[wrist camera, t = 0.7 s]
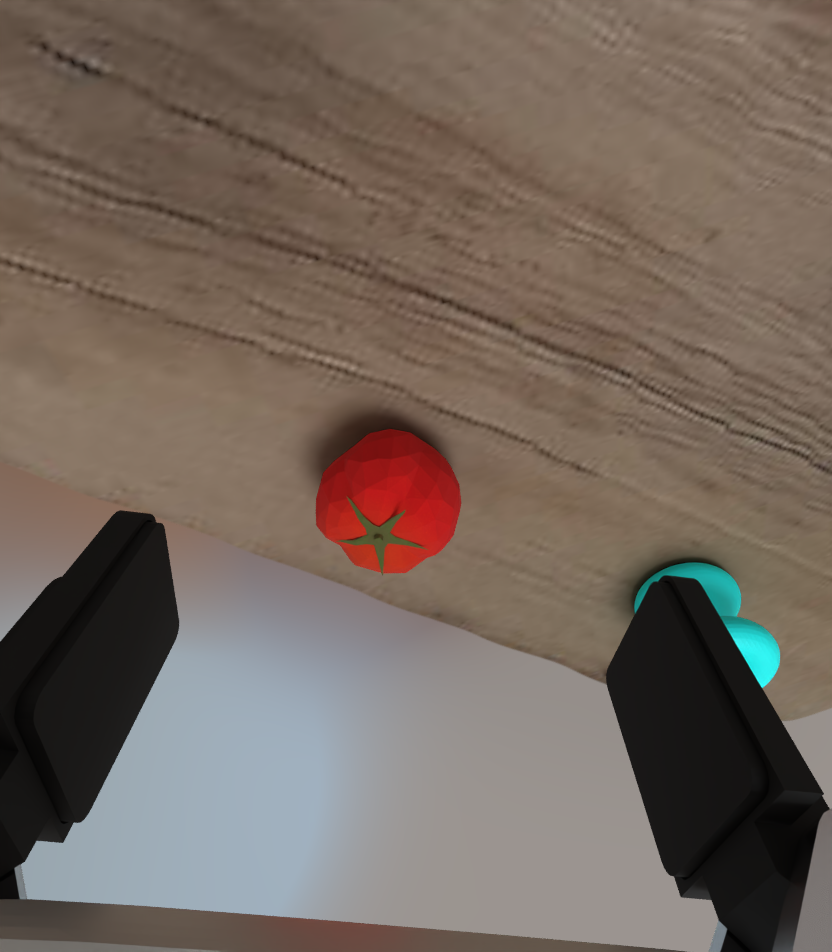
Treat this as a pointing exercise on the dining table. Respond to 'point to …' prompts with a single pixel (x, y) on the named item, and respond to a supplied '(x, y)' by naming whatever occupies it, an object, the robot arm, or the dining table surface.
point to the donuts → (728, 615)
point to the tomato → (389, 502)
